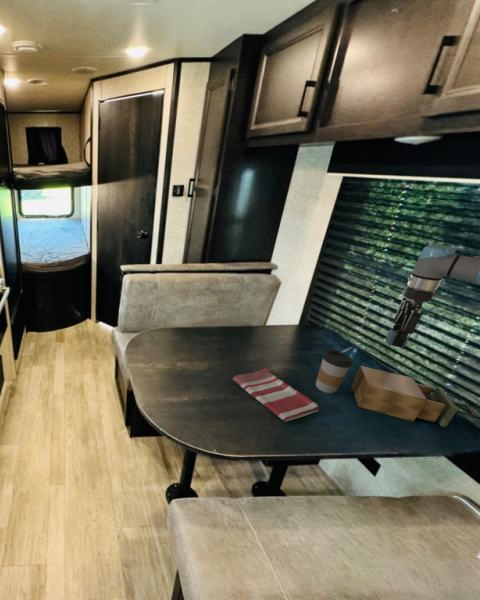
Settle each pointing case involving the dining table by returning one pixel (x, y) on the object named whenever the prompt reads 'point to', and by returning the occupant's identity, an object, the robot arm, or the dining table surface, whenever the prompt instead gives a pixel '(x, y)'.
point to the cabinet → (388, 393)
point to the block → (393, 337)
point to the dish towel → (276, 395)
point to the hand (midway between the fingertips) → (394, 342)
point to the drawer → (440, 406)
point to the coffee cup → (332, 371)
